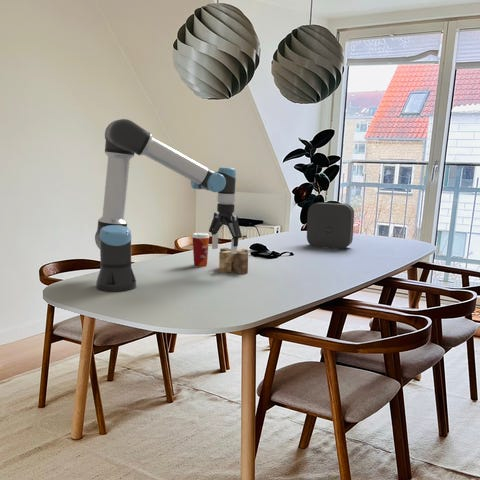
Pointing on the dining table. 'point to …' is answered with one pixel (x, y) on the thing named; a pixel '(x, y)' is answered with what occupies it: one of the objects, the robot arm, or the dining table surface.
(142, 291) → the dining table surface
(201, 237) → the coffee cup
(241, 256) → the wooden notched block
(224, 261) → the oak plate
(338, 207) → the speaker
